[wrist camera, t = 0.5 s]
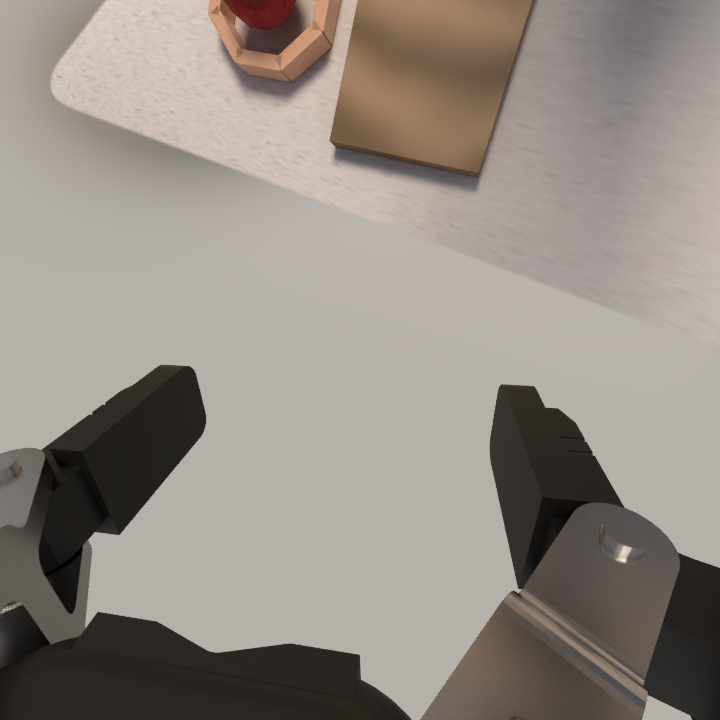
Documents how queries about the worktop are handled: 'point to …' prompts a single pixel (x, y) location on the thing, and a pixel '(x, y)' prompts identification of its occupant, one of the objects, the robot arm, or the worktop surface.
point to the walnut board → (427, 79)
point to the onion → (261, 12)
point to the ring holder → (290, 59)
